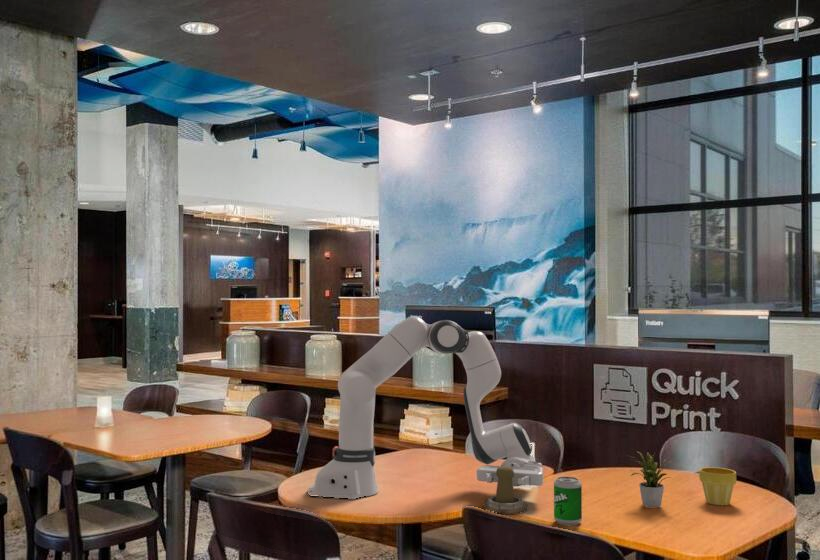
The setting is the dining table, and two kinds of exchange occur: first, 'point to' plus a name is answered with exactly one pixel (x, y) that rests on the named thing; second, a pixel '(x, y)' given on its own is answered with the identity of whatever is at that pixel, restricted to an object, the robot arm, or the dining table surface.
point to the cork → (505, 485)
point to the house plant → (651, 482)
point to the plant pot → (717, 484)
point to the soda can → (567, 501)
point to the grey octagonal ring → (505, 506)
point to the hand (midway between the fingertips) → (504, 481)
